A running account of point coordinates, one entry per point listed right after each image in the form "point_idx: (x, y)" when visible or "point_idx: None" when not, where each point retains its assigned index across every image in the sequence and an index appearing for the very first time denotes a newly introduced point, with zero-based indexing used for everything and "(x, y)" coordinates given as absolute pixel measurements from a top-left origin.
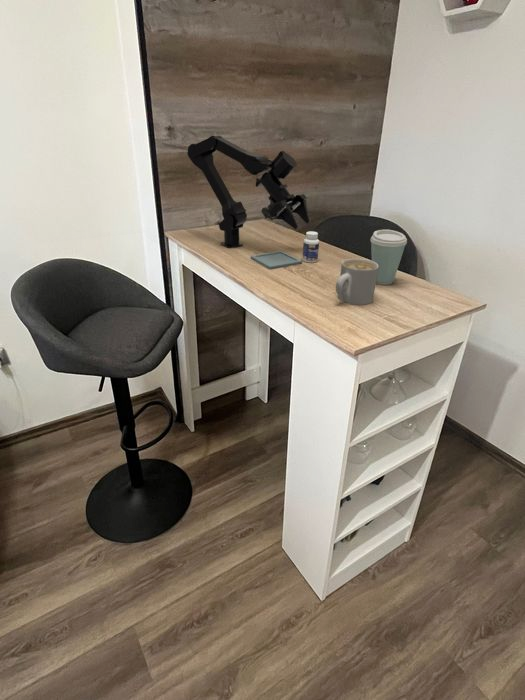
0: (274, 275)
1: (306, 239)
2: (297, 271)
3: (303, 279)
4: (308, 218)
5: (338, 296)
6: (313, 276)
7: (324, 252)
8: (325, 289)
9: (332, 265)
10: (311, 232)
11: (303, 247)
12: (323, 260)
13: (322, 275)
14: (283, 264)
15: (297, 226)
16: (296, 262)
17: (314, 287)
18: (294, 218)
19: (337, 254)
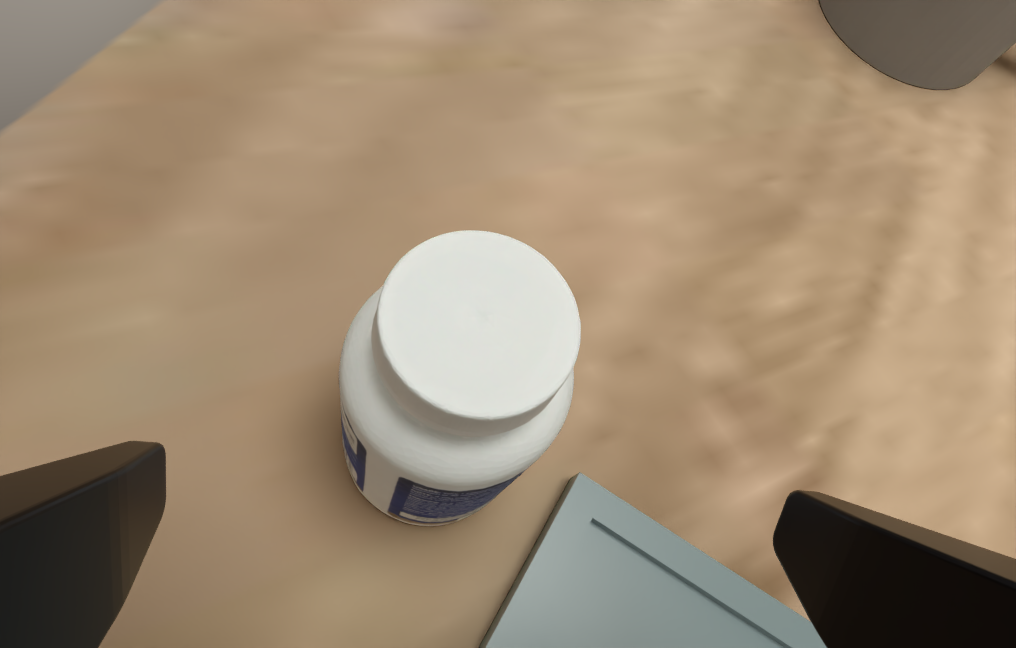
0: None
1: (534, 417)
2: (778, 434)
3: (887, 328)
4: (92, 462)
5: (976, 75)
6: (787, 282)
7: (22, 391)
8: (920, 161)
9: (455, 213)
10: (459, 336)
11: (510, 482)
12: (350, 319)
13: (725, 230)
14: (788, 609)
15: (818, 493)
16: (639, 515)
17: (944, 223)
18: (988, 569)
19: (57, 241)
